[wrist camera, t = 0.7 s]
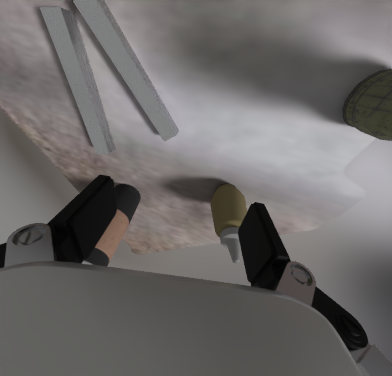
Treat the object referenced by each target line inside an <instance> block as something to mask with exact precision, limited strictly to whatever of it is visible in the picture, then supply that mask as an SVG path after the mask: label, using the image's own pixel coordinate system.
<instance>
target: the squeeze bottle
mask: <svg viewBox="0 0 392 376" xmlns="http://www.w3.org/2000/svg"><path fill="white" fill-rule="evenodd" d="M211 210H212V216H213V222H214V227H215V232H216V234H217V236H219V237H220V240H221V244H222V245H223V246H224V247H225V248H228V249H229V252H230V255H231V258H232V260H233V262H234V263H239V262H240V254H241V246H240V242H239V237H238V229H239V227H240V225H241V223H242V221H243V219H244V217H245V215H246V213H247V209H246V201H245V197H244V195H243V194H242V193H241V192H240V191H239V190H238V189H237V188H236V187H235V186H233V185H231V184H224V185H221V186H219V187H218V188H217V189H216V191H215V192H214V194H213V196H212V198H211Z"/></svg>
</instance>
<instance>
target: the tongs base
mask: <svg viewBox="0 0 392 376" xmlns="http://www.w3.org/2000/svg"><path fill="white" fill-rule="evenodd" d="M40 10H41V12H42V15H43V18H44V20H45V23H46V25H47V28H48V30H49V33H50V36H51V38H52V41H53V43H54V46H55V49H56V51H57V54H58V56H59V59H60V62H61V64H62V67H63V69H64V72H65V75H66V77H67V80H68V82H69V85H70V87H71V90H72V93H73V95H74V98H75V100H76V103H77V106H78V108H79V111H80V113H81V116H82V119H83V121H84V124H85V126H86V129H87V132H88V134H89V137H90V139H91V142H92V144H93V147H94V150H95V152H96V154H110V153H111V152H112V151H113V150H115V149H116V148H115V145H114V142H113V138H112V135H111V132H110V129H109V125H108V122H107V119H106V115H105V112H104V109H103V105H102V102H101V99H100V96H99V92H98V89H97V86H96V82H95V79H94V76H93V72H92V69H91V66H90V63H89V59H88V56H87V53H86V49H85V46H84V43H83V39H82V36H81V33H80V30H79V26H78V23H77V20H76V16H75V13H73V12H71V11H68V10H66V9H64V8H61V7H40Z"/></svg>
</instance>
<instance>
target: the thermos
mask: <svg viewBox="0 0 392 376" xmlns="http://www.w3.org/2000/svg"><path fill="white" fill-rule="evenodd" d="M343 119H344V121H345V122H346V123H347V124H348V125H350V126H352V127H355V128H356V129H358V130H359V131H361V132H364V133H366V134H368V135H371V136H373V137H376V138H378V139H382V140H388V141H392V69H389V70H384V71H379V72H377V73H375V74H373V75H371V76H369V77H367V78H366V79H365V80H363V81H362V82H361V83H359V84H358V85H357V86H356V87H355V89H354V90H353V91H352V92H351V93H350V95H349V96H348V98H347V100H346V101H345V104H344V107H343Z"/></svg>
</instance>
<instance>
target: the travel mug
mask: <svg viewBox="0 0 392 376" xmlns="http://www.w3.org/2000/svg"><path fill="white" fill-rule="evenodd" d="M114 189H115V198H116V206H117V212H116V215H115V216H114V218H113V220H112V221H111V223H110V224H109V226H108V227H107V229H106V231H105V232H104V234H103V235H102V237H101V238H100V240H99V242H98V243H97V245H96V246H95V248H94V249H93V251H92V253H91V254H90V256H89V257H88V258H87V259H84V260H83V262H82V264H90V265H99V266H108V264H109V262H110V260H111V258H112V256H113V254H114V252H115V250H116V248H117V246H118V244H119V243H120V241H121V239H122V237H123V235H124V233H125V231H126V229H127V227H128V225H129V223H130V221H131V219H132V217H133V215H134V212H135V210H136V208H137V206H138V204H139V201H140V193H139V192H138V191H137V189H135V188H134V187H132V186H130V185H127V184H120V185H118V186H116V187H115V188H114Z"/></svg>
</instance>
